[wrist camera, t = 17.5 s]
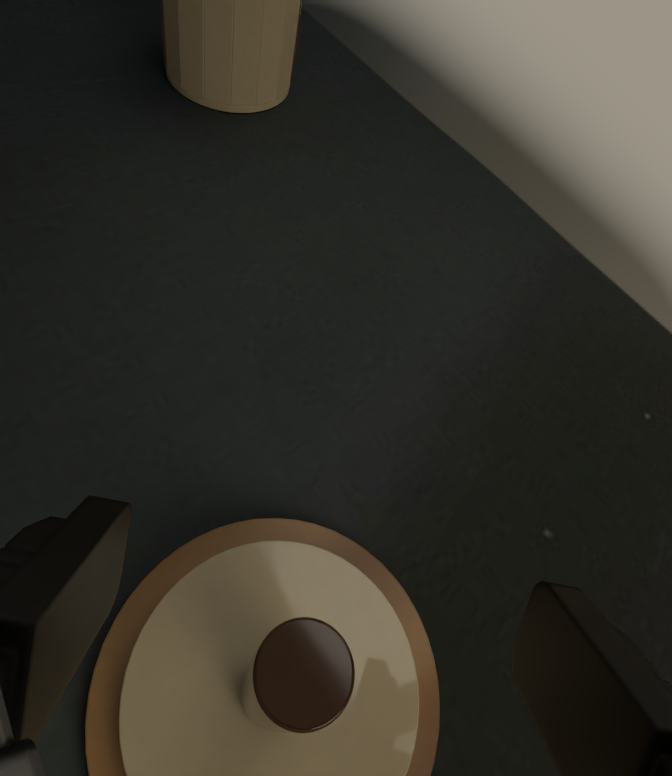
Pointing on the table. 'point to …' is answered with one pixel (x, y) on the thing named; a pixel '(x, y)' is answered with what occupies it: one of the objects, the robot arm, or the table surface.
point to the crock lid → (270, 672)
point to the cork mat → (146, 596)
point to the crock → (230, 51)
